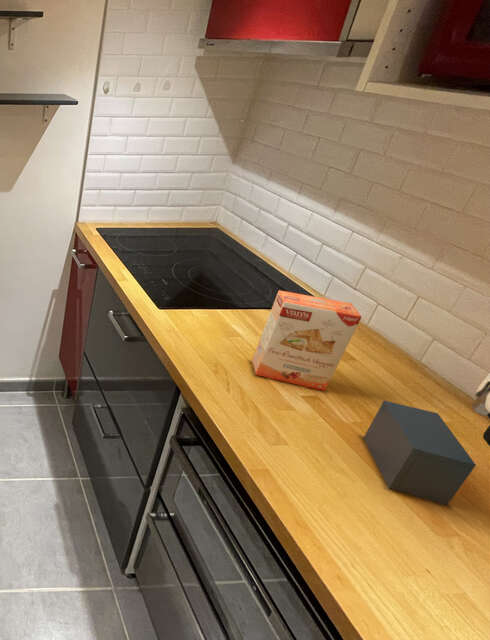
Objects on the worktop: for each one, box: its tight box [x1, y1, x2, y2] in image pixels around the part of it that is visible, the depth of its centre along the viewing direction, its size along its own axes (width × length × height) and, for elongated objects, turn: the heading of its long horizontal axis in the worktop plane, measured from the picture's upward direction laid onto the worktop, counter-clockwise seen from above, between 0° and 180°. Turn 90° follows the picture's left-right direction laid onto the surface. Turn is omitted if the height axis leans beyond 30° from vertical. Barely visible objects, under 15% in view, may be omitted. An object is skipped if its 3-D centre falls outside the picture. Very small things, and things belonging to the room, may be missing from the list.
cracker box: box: [251, 290, 362, 392], centre depth 101 cm, size 14×6×21 cm, turn 68°
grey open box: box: [363, 399, 477, 506], centre depth 81 cm, size 8×12×10 cm, turn 157°
